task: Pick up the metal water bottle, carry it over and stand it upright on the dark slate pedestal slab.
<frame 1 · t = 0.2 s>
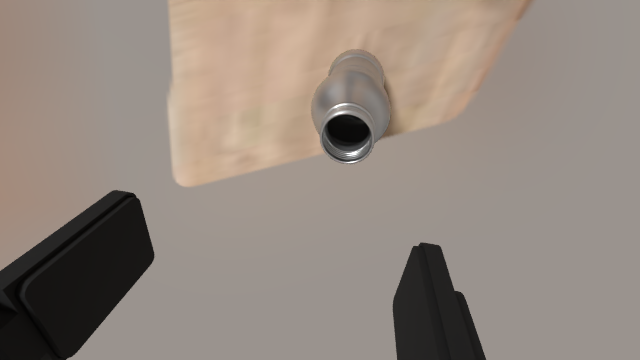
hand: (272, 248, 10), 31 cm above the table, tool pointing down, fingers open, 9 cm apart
metal water bottle: (356, 75, 36), on the table
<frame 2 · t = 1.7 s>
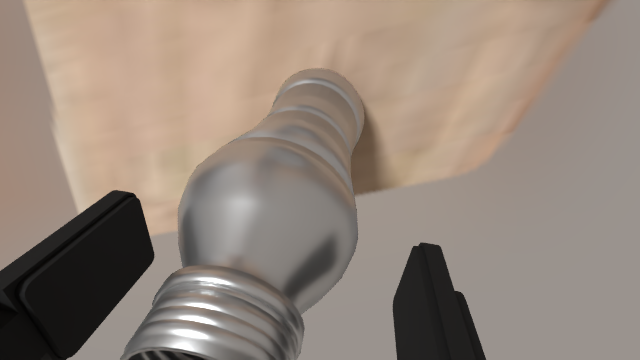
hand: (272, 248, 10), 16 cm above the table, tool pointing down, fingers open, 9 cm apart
metal water bottle: (323, 105, 23), on the table
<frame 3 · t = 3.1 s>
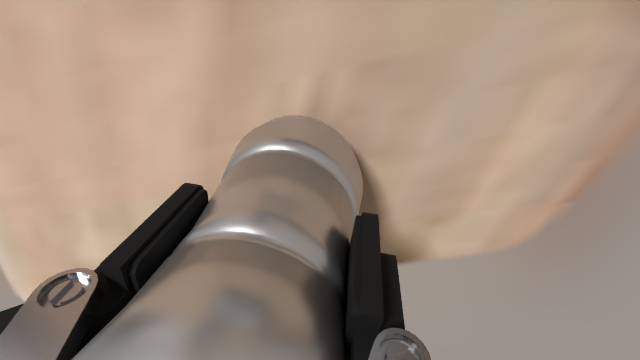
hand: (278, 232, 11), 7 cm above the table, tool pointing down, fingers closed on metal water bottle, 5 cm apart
metal water bottle: (304, 159, 17), on the table, touching gripper
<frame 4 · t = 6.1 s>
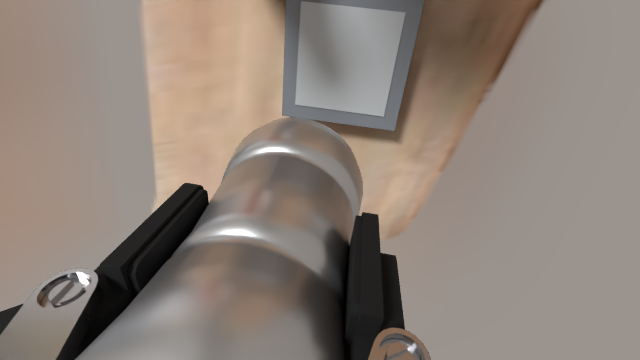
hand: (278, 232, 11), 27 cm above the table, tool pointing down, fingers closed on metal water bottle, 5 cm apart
slate pedestal: (346, 60, 32), on the table
metal water bottle: (304, 160, 17), point 20 cm above the table, touching gripper
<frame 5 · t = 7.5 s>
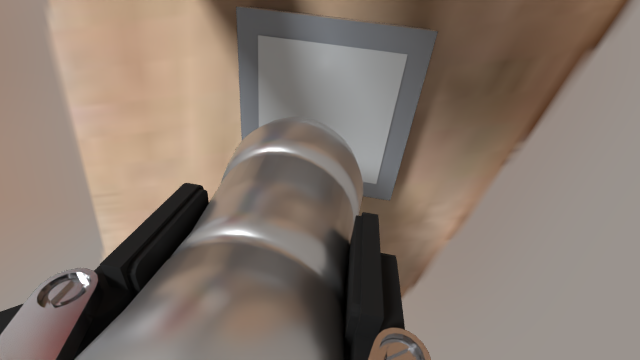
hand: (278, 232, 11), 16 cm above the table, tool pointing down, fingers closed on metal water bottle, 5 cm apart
slate pedestal: (327, 107, 24), on the table
metal water bottle: (304, 160, 17), point 9 cm above the table, touching gripper
when the fingers open (10 cm above the table, at t = 8.9 s): metal water bottle drops 1 cm, resting on slate pedestal.
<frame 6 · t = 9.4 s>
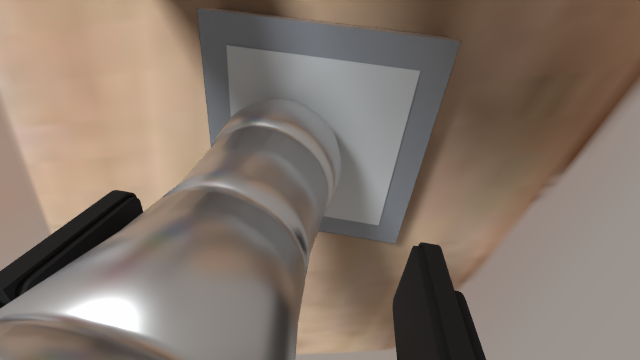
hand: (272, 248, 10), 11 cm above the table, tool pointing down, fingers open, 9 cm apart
slate pedestal: (318, 131, 20), on the table
metal water bottle: (291, 143, 18), point 2 cm above the table, touching gripper, slate pedestal
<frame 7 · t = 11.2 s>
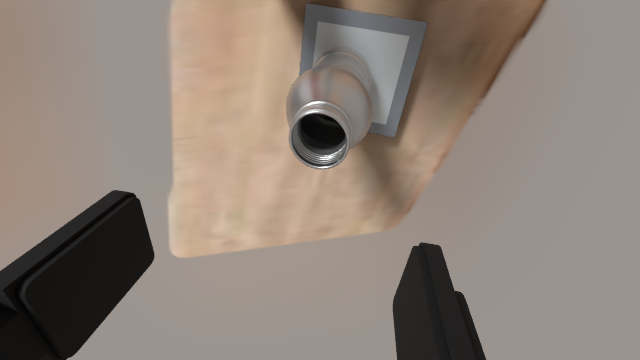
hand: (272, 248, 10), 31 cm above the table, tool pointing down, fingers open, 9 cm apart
slate pedestal: (355, 72, 36), on the table
metal water bottle: (343, 74, 34), point 2 cm above the table, touching slate pedestal
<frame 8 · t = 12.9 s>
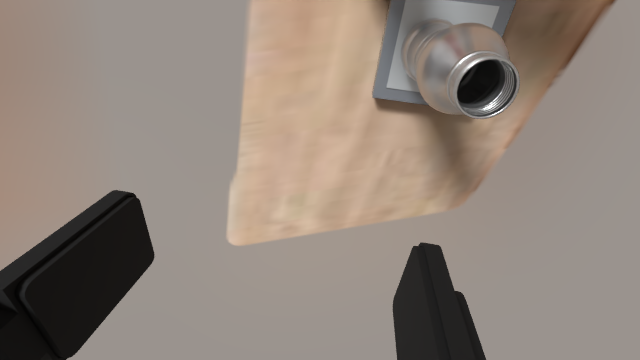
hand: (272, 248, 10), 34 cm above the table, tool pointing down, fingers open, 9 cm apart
slate pedestal: (433, 47, 36), on the table
metal water bottle: (426, 49, 34), point 2 cm above the table, touching slate pedestal
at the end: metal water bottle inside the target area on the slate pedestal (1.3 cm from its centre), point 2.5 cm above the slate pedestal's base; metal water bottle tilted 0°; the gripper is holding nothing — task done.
